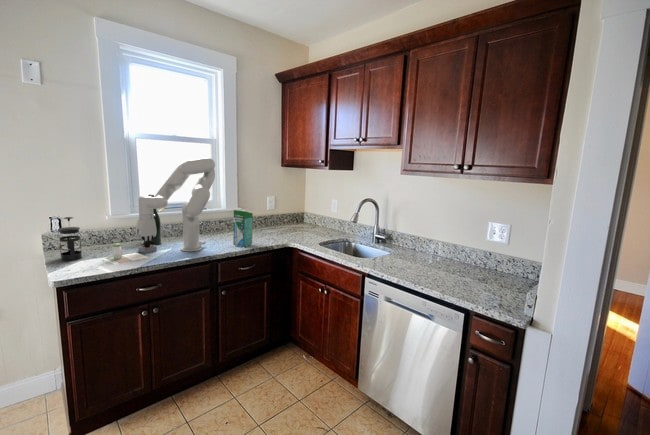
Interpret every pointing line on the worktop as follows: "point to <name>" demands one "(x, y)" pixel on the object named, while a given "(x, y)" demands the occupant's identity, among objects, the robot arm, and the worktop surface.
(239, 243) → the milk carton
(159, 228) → the green wine bottle
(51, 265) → the worktop surface
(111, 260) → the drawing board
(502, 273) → the worktop surface
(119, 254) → the translucent whitish cylinder
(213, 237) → the worktop surface
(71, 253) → the french press
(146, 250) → the button housing
